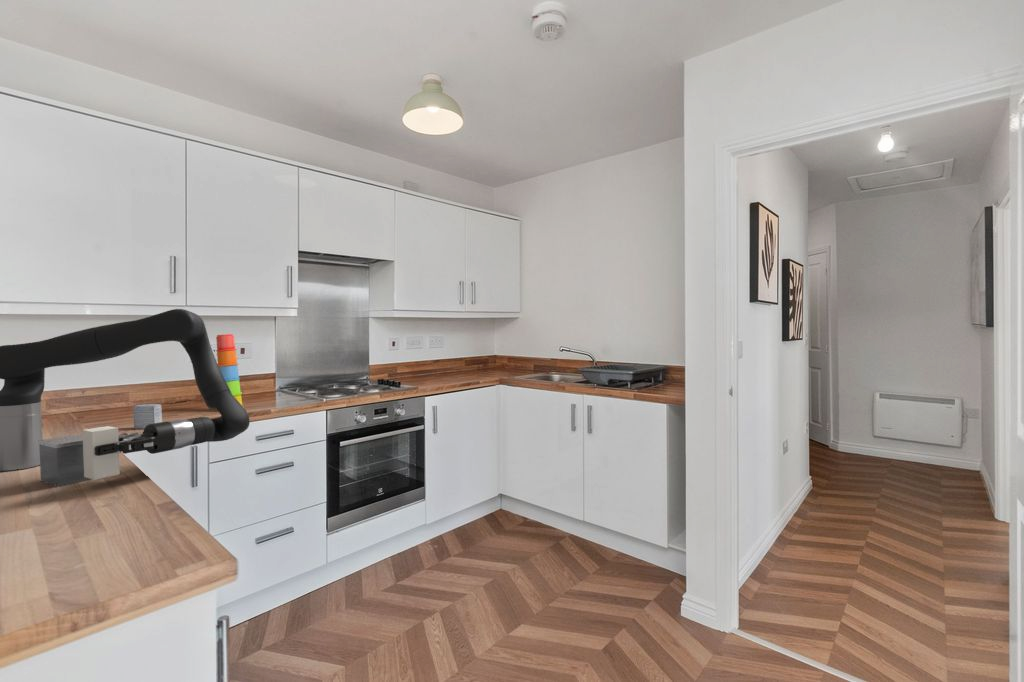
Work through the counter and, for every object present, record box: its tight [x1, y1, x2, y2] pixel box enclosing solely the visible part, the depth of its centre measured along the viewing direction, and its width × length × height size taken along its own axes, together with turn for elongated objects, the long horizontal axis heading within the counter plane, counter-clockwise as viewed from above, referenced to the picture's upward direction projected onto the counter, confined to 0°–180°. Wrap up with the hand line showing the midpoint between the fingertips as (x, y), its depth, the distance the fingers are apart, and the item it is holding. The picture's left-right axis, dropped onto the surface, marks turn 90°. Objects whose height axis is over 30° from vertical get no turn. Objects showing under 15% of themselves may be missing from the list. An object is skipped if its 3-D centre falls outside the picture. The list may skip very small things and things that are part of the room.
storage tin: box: [38, 433, 90, 487], centre depth 127 cm, size 10×10×10 cm
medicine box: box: [132, 403, 163, 430], centre depth 193 cm, size 8×4×9 cm, turn 92°
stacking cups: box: [215, 333, 243, 406], centre depth 232 cm, size 10×10×35 cm
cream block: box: [82, 425, 121, 481], centre depth 119 cm, size 5×5×11 cm
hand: (90, 449), depth 117 cm, fingers closed on cream block, 5 cm apart
